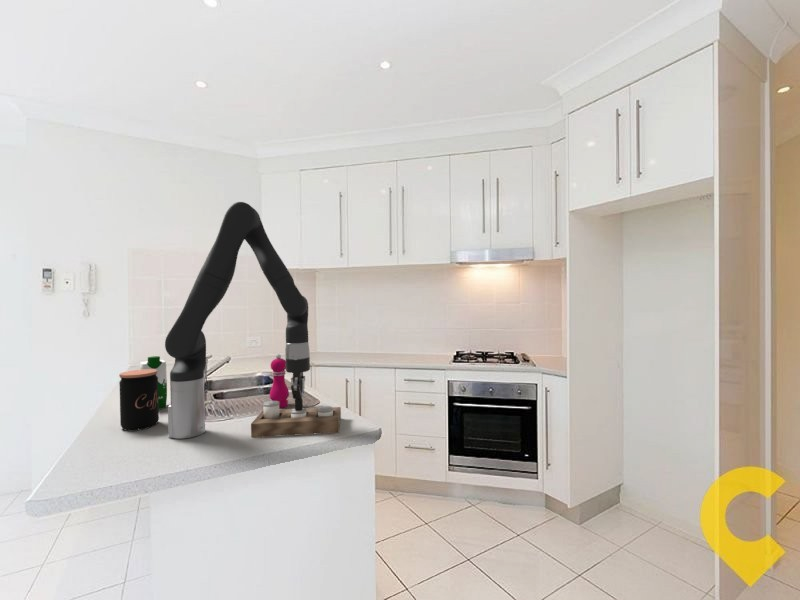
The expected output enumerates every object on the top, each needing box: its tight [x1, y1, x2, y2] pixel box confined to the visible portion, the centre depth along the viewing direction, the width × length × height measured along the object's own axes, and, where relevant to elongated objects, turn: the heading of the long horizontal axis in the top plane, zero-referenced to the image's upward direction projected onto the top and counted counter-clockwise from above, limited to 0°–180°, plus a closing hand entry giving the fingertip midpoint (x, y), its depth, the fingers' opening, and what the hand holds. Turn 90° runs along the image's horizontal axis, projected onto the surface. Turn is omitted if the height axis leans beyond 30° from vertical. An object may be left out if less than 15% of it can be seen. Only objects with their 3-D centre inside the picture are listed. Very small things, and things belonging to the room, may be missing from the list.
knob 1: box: [262, 400, 280, 419], centre depth 126 cm, size 5×5×5 cm
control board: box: [250, 406, 342, 438], centre depth 127 cm, size 26×14×4 cm, turn 96°
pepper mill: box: [269, 353, 290, 409], centre depth 153 cm, size 7×7×20 cm
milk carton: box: [139, 355, 168, 410], centre depth 154 cm, size 9×9×20 cm
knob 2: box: [317, 405, 334, 417], centre depth 128 cm, size 5×5×5 cm
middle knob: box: [291, 407, 307, 418], centre depth 127 cm, size 5×5×5 cm
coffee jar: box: [118, 369, 160, 431], centre depth 131 cm, size 11×11×18 cm
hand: (299, 410), depth 127 cm, fingers closed
